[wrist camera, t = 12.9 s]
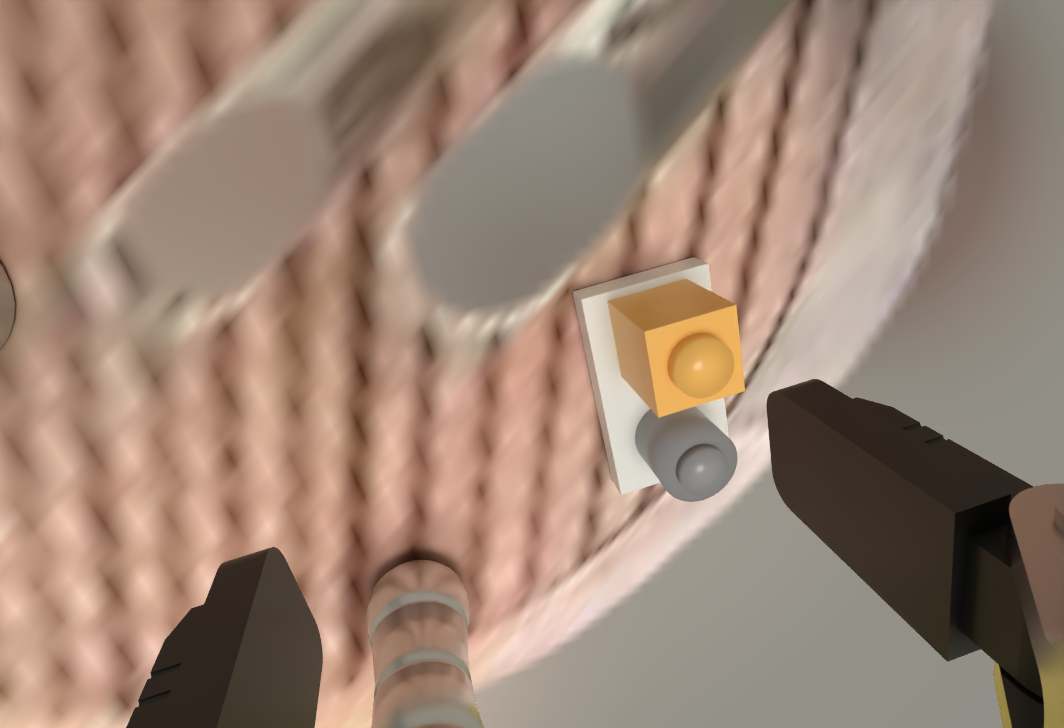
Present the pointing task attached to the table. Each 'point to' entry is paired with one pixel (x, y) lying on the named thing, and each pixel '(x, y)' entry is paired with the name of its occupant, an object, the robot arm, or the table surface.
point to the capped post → (686, 453)
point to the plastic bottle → (421, 649)
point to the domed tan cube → (677, 346)
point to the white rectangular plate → (611, 391)
